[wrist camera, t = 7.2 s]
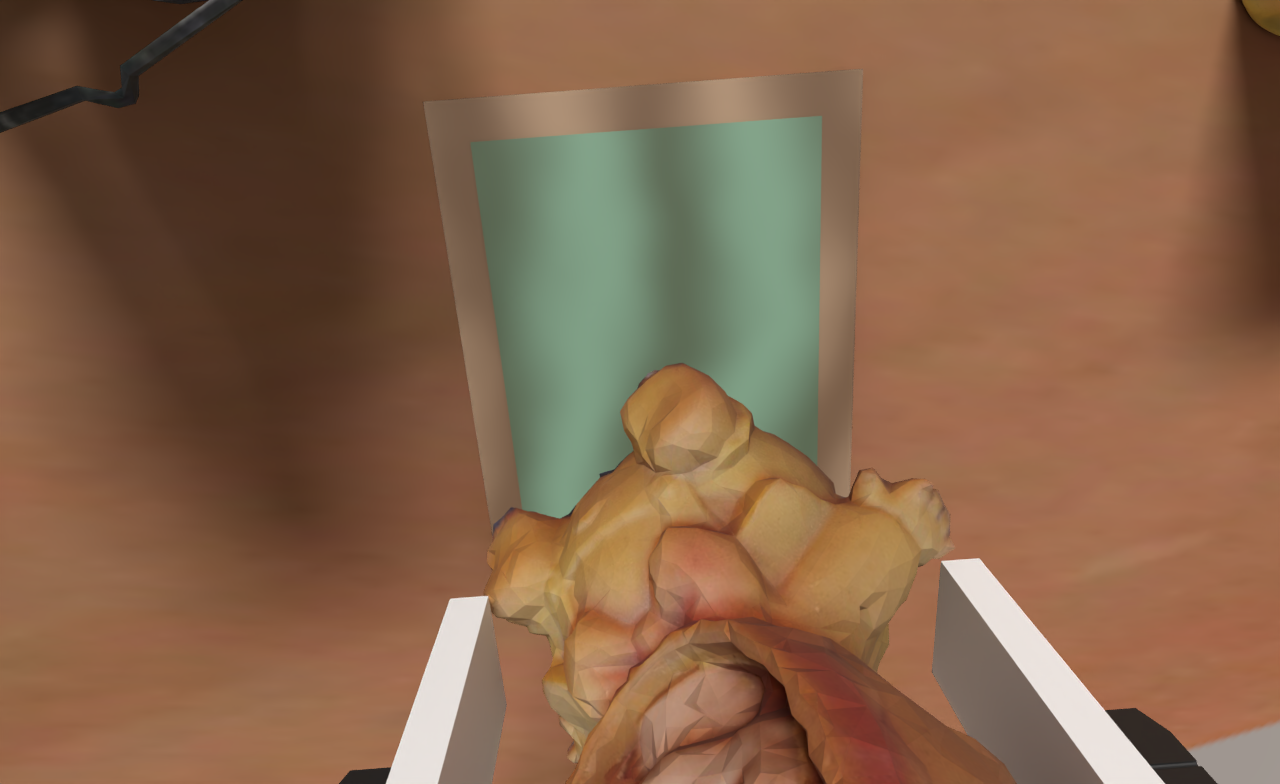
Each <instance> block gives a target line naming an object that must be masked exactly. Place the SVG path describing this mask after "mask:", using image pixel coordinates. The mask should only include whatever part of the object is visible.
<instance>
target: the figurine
mask: <svg viewBox="0 0 1280 784" xmlns="http://www.w3.org/2000/svg"><path fill="white" fill-rule="evenodd" d="M620 414H621V419H622V423H623V428H624V431H625V433H626V435H627V436H628V438H629V440H630V441H631V443H632V446H633V450H634V451H633V452H632V453H630V454H629V455H628V456H626V457H625V458H624V459H623V460H622V461H621V462H620V463H619V464H618V466H617V467H616V468H615V469H613V470H610V471H607V472H603V473H600V474H599V475H600V478H599V479H598V480H597V481H596V483H595V484H594V485H593V486H592V487H591V488H590V489H589V490H588V491H587V493H586V494H585V495H584V496H583V497H582V498H581V500H580V501H579V502H578V503H577V505H575V507H574V508H573V509H572V511H571V512H570V513H569V514H568V515H566V516H564V517H562V518H560V519H559V518H555V517H551V516H547V515H544V514H540V513H537V512H534V511H525V510H522V509H518V508H514V507H511V508H510V509H509V510H508V511H507V512H506V513H505V515H504V516H503V517H502V518H501V519H499V520H498V521H497V522H496V523H494V524H493V541H492V544H491V545H490V547H489V549H488V551H487V563H488V565H489V566H490V568H491V569H492V574H491V576H490V578H489V580H488V583H487V585H486V587H485V589H484V591H483V594H484V596H488V597H489V603H490V608H491V612H492V613H493V614H494V615H495V616H496V617H498V618H503V619H506V620H507V621H508V622H511V623H515V624H519V625H522V626H526V627H527V628H528V630H529V633H532V634H539V635H545V636H547V639H548V641H549V643H550V647H551V652H552V656H553V661H552V664H551V668H550V669H549V670H548V672H547V673H546V675H545V676H544V678H543V679H542V685H543V692H544V694H545V696H546V698H547V700H548V702H549V704H550V706H551V708H552V709H553V710H554V711H555V712H557V713H558V714H559V715H560V716H559V724H560V726H561V727H562V728H563V729H564V730H565V731H566V732H567V733H568V734H569V735H570V736H571V737H572V738H573V740H574V741H573V743H572V745H571V746H570V748H569V749H568V755H567V758H568V759H569V760H571V761H572V762H573V763H577V765H576V768H575V770H574V772H573V773H572V774H571V776H570V777H569V779H568V780H567V781H566V783H565V784H1017V783H1016V782H1015V780H1014V778H1013V777H1012V775H1011V774H1010V772H1009V771H1008V769H1007V767H1006V766H1005V764H1004V763H1003V762H1001V761H1000V760H999V759H998V758H997V757H996V756H994V755H993V754H992V753H991V752H990V751H989V750H987V749H986V748H985V747H984V746H983V745H982V744H981V743H979V742H978V741H977V740H976V739H974V738H972V737H970V736H968V735H966V734H963V733H961V732H959V731H956V730H954V729H951V728H949V727H947V726H946V725H944V724H943V723H941V722H940V721H939V720H937V719H936V718H935V717H933V716H932V715H931V714H929V713H928V712H927V711H925V710H924V709H923V708H921V707H920V706H919V705H917V704H916V703H915V702H913V701H912V700H911V699H909V698H908V697H907V696H905V695H904V694H903V693H901V692H900V691H898V690H897V689H896V688H894V687H893V686H892V685H891V684H890V683H888V682H887V681H886V680H885V679H883V678H882V677H881V676H880V675H879V674H877V669H878V666H879V663H880V661H881V659H882V657H883V655H884V653H885V651H886V649H887V647H888V645H889V629H888V623H889V621H890V620H891V618H892V617H893V616H894V614H895V613H896V611H897V610H898V608H899V607H900V605H901V604H902V603H904V602H905V601H906V599H907V597H908V594H909V591H910V589H911V586H912V584H913V581H914V578H915V576H916V573H917V568H918V567H920V566H923V565H924V564H926V563H927V562H928V561H929V560H931V559H940V558H941V557H943V556H944V555H946V554H947V553H949V552H950V551H952V550H953V549H955V546H954V544H953V542H952V540H951V539H950V513H949V511H948V510H947V508H946V506H945V505H944V503H943V501H942V498H941V496H940V493H939V490H936V489H933V484H932V483H931V482H929V481H928V480H926V479H913V478H912V479H908V480H904V481H900V482H895V483H890V482H888V481H886V480H884V479H882V478H881V477H880V476H879V475H878V473H877V472H876V471H875V470H874V469H873V468H869V469H864V470H859V472H858V475H857V477H856V479H855V482H854V484H853V487H852V489H851V491H850V494H849V496H848V497H843V496H840V495H837V494H836V492H835V487H834V483H833V482H832V481H831V480H830V479H829V478H828V476H827V475H826V474H825V473H824V472H823V471H822V470H821V469H820V468H819V467H818V466H817V465H816V464H815V463H814V462H813V461H812V460H811V459H810V458H809V457H808V456H807V455H805V454H804V453H802V452H801V451H799V450H798V449H796V448H795V447H793V446H792V445H791V444H789V443H788V442H786V441H784V440H783V439H781V438H779V437H778V436H776V435H774V434H772V433H768V432H765V431H762V430H761V429H759V428H758V427H756V426H755V425H754V420H753V415H752V413H751V412H750V411H749V410H748V409H747V408H746V407H745V406H744V405H743V404H742V403H740V402H739V401H737V400H735V399H733V398H731V397H730V396H728V395H727V394H726V392H725V391H724V390H723V389H722V388H721V387H720V386H719V385H718V384H717V383H716V382H715V381H714V380H713V379H712V378H711V377H710V376H709V375H707V374H705V373H703V372H701V371H699V370H697V369H695V368H693V367H690V366H688V365H686V364H684V363H678V364H672V365H667V366H665V367H663V368H662V369H661V370H653V371H652V372H650V373H648V374H647V375H646V376H645V377H644V379H643V380H642V381H641V382H640V383H639V385H638V388H637V390H636V391H635V392H634V393H633V394H632V395H631V396H630V397H629V398H628V399H627V401H626V403H625V404H624V406H623V407H622V409H621V411H620Z"/></svg>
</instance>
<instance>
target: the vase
mask: <svg viewBox="0 0 1280 784" xmlns="http://www.w3.org/2000/svg"><path fill="white" fill-rule="evenodd" d="M1242 2H1243V4H1244V6H1245V8H1246V10H1247V12H1248V13H1249V15H1250V16H1251V18H1252V19H1253V20H1254V21H1255V22H1256V23H1257V24H1258V25H1259V26H1261V27H1262V28H1264V29H1266V30H1267V31H1269V32H1271V33H1273V34H1276V35H1278V36H1280V0H1242Z"/></svg>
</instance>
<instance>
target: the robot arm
mask: <svg viewBox="0 0 1280 784" xmlns="http://www.w3.org/2000/svg"><path fill="white" fill-rule="evenodd" d="M932 673H933V675H934V677H935V678H936V680H937V682H938V684H939V685H940V687H941V689H942V691H943V693H944V694H945V696H946V698H947V700H948V701H949V703H950V705H951V707H952V708H953V710H954V712H955V714H956V715H957V717H958V719H959V721H960V722H961V724H962V726H963V728H964V729H965V731H966V733H967V735H968V736H970V737H972V738H974V739H976V740H977V741H978V742H979V743H981V744H982V745H983V746H984V747H985V748H986V749H987V750H989V751H990V752H991V753H992V754H993V755H994V756H996V757H997V758H998V759H999V760H1000V761H1001V762H1003V763H1004V764H1005V766H1006V767H1007V769H1008V771H1009V772H1010V774H1011V775H1012V777H1013V778H1014V780H1015V782H1016V783H1017V784H1217V783H1216V782H1215V781H1214V780H1213V778H1212V777H1211V776H1210V775H1209V774H1208V773H1207V772H1206V771H1205V770H1204V768H1203V767H1201V766H1198V765H1197V762H1196V760H1195V758H1194V757H1193V756H1192V755H1191V754H1190V753H1189V752H1188V751H1187V750H1186V748H1185V747H1184V746H1183V745H1182V744H1181V743H1180V742H1179V741H1178V740H1177V739H1176V737H1175V736H1174V735H1173V734H1172V733H1171V732H1170V731H1168V730H1167V729H1166V728H1164V727H1163V726H1161V725H1160V724H1158V723H1157V722H1155V721H1154V720H1152V719H1151V718H1149V717H1148V716H1146V715H1145V714H1143V713H1142V712H1140V711H1139V710H1137V709H1136V708H1130V709H1117V710H1104V709H1103V708H1102V707H1101V705H1100V704H1099V703H1098V702H1097V701H1096V699H1095V698H1094V697H1093V696H1092V695H1091V693H1090V692H1089V691H1088V690H1087V689H1086V687H1085V686H1084V685H1083V684H1082V682H1081V681H1080V680H1079V679H1078V678H1077V676H1076V675H1075V674H1074V673H1073V672H1072V670H1071V669H1070V668H1069V667H1068V665H1067V664H1066V663H1065V662H1064V661H1063V659H1062V658H1061V657H1060V656H1059V655H1058V653H1057V652H1056V651H1055V650H1054V649H1053V647H1052V646H1051V645H1050V644H1049V642H1048V641H1047V640H1046V639H1045V638H1044V636H1043V635H1042V634H1041V633H1040V632H1039V630H1038V629H1037V628H1036V627H1035V625H1034V624H1033V623H1032V622H1031V621H1030V619H1029V618H1028V617H1027V616H1026V615H1025V613H1024V612H1023V611H1022V610H1021V608H1020V607H1019V606H1018V605H1017V604H1016V602H1015V601H1014V600H1013V599H1012V598H1011V596H1010V595H1009V594H1008V593H1007V592H1006V590H1005V589H1004V588H1003V587H1002V585H1001V584H1000V583H999V582H998V581H997V579H996V578H995V577H994V576H993V575H992V573H991V572H990V571H989V570H988V568H987V567H986V566H985V565H984V564H983V562H982V561H981V560H980V559H979V558H977V559H964V560H951V561H941V568H940V580H939V592H938V604H937V616H936V629H935V641H934V653H933V665H932ZM506 705H507V704H506V698H505V692H504V686H503V680H502V674H501V668H500V662H499V656H498V650H497V644H496V638H495V632H494V626H493V620H492V614H491V608H490V603H489V597H488V596H481V597H467V598H455V599H450V601H449V604H448V606H447V609H446V612H445V615H444V618H443V621H442V624H441V627H440V629H439V632H438V635H437V638H436V641H435V644H434V647H433V650H432V652H431V655H430V658H429V661H428V664H427V667H426V670H425V673H424V675H423V678H422V681H421V684H420V687H419V690H418V693H417V696H416V698H415V701H414V704H413V707H412V710H411V713H410V716H409V719H408V721H407V724H406V727H405V730H404V733H403V736H402V739H401V742H400V744H399V747H398V750H397V753H396V756H395V759H394V762H393V765H392V767H391V768H378V769H365V770H352V771H349V773H348V774H347V775H346V776H345V777H344V778H343V780H342V781H341V782H340V783H339V784H492V780H493V775H494V769H495V764H496V759H497V753H498V748H499V743H500V737H501V732H502V727H503V721H504V716H505V711H506Z"/></svg>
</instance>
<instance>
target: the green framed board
mask: <svg viewBox="0 0 1280 784" xmlns="http://www.w3.org/2000/svg"><path fill="white" fill-rule="evenodd" d="M862 88H863V69H854V70H840V71H827V72H813V73H800V74H787V75H773V76H760V77H746V78H733V79H720V80H706V81H693V82H679V83H666V84H653V85H639V86H626V87H612V88H599V89H586V90H572V91H559V92H545V93H532V94H519V95H505V96H492V97H478V98H465V99H452V100H438V101H425V102H423V104H424V110H425V117H426V123H427V129H428V135H429V142H430V148H431V154H432V160H433V167H434V173H435V179H436V185H437V192H438V198H439V204H440V210H441V217H442V223H443V229H444V235H445V242H446V248H447V254H448V261H449V267H450V273H451V279H452V286H453V292H454V298H455V304H456V311H457V317H458V323H459V329H460V336H461V342H462V348H463V354H464V361H465V367H466V373H467V379H468V386H469V392H470V398H471V405H472V411H473V417H474V423H475V430H476V436H477V442H478V448H479V455H480V461H481V467H482V473H483V480H484V486H485V492H486V498H487V505H488V511H489V517H490V523H491V530H492V536H493V524H494V523H496V522H497V521H498V520H499V519H501V518H502V517H503V516H504V515H505V513H506V512H507V511H508V510H509V509H510V508H511V507H514V508H518V509H522V510H525V511H534V512H537V513H540V514H544V515H547V516H551V517H555V518H559V519H560V518H562V517H564V516H566V515H568V514H569V513H570V512H571V511H572V509H573V508H574V507H575V505H577V503H578V502H579V501H580V500H581V498H582V497H583V496H584V495H585V494H586V493H587V491H588V490H589V489H590V488H591V487H592V486H593V485H594V484H595V483H596V481H597V480H598V479H599V478H600V475H599V474H600V473H603V472H607V471H610V470H613V469H615V468H616V467H617V466H618V464H619V463H620V462H621V461H622V460H623V459H624V458H625V457H626V456H628V455H629V454H630V453H632V452H633V451H634V450H633V446H632V443H631V441H630V440H629V438H628V436H627V435H626V433H625V431H624V428H623V423H622V419H621V414H620V411H621V409H622V407H623V406H624V404H625V403H626V401H627V399H628V398H629V397H630V396H631V395H632V394H633V393H634V392H635V391H636V390H637V388H638V385H639V383H640V382H641V381H642V380H643V379H644V377H645V376H646V375H647V374H648V373H650V372H652V371H653V370H661V369H662V368H663V367H665V366H667V365H672V364H678V363H684V364H686V365H688V366H690V367H693V368H695V369H697V370H699V371H701V372H703V373H705V374H707V375H709V376H710V377H711V378H712V379H713V380H714V381H715V382H716V383H717V384H718V385H719V386H720V387H721V388H722V389H723V390H724V391H725V392H726V394H727V395H728V396H730V397H731V398H733V399H735V400H737V401H739V402H740V403H742V404H743V405H744V406H745V407H746V408H747V409H748V410H749V411H750V412H751V413H752V415H753V420H754V425H755V426H756V427H758V428H759V429H761V430H762V431H765V432H768V433H772V434H774V435H776V436H778V437H779V438H781V439H783V440H784V441H786V442H788V443H789V444H791V445H792V446H793V447H795V448H796V449H798V450H799V451H801V452H802V453H804V454H805V455H807V456H808V457H809V458H810V459H811V460H812V461H813V462H814V463H815V464H816V465H817V466H818V467H819V468H820V469H821V470H822V471H823V472H824V473H825V474H826V475H827V476H828V478H829V479H830V480H831V481H832V482H833V483H834V487H835V492H836V494H837V495H840V496H843V497H848V496H849V494H850V474H851V442H852V410H853V377H854V345H855V313H856V281H857V249H858V217H859V184H860V152H861V120H862Z"/></svg>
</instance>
